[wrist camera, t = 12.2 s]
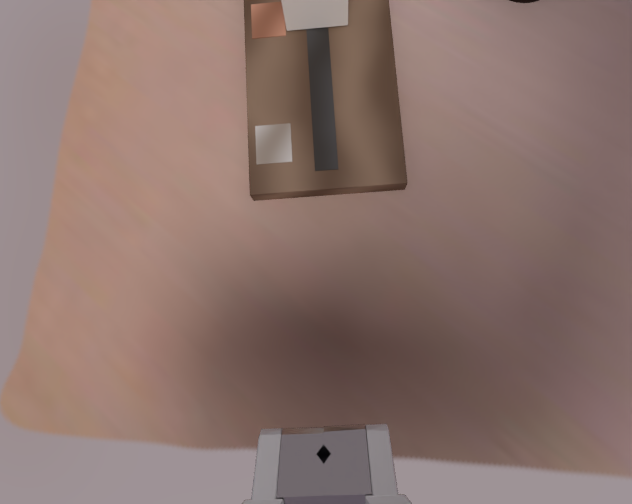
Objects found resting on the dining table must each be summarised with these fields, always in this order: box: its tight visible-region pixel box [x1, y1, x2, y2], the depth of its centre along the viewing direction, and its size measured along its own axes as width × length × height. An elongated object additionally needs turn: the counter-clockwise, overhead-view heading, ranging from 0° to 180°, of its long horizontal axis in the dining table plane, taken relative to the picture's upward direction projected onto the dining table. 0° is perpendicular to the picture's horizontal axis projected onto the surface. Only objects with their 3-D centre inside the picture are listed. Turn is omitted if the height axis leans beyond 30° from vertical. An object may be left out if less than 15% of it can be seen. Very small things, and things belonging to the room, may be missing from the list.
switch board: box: [244, 0, 407, 201], centre depth 37 cm, size 12×22×2 cm, turn 3°
